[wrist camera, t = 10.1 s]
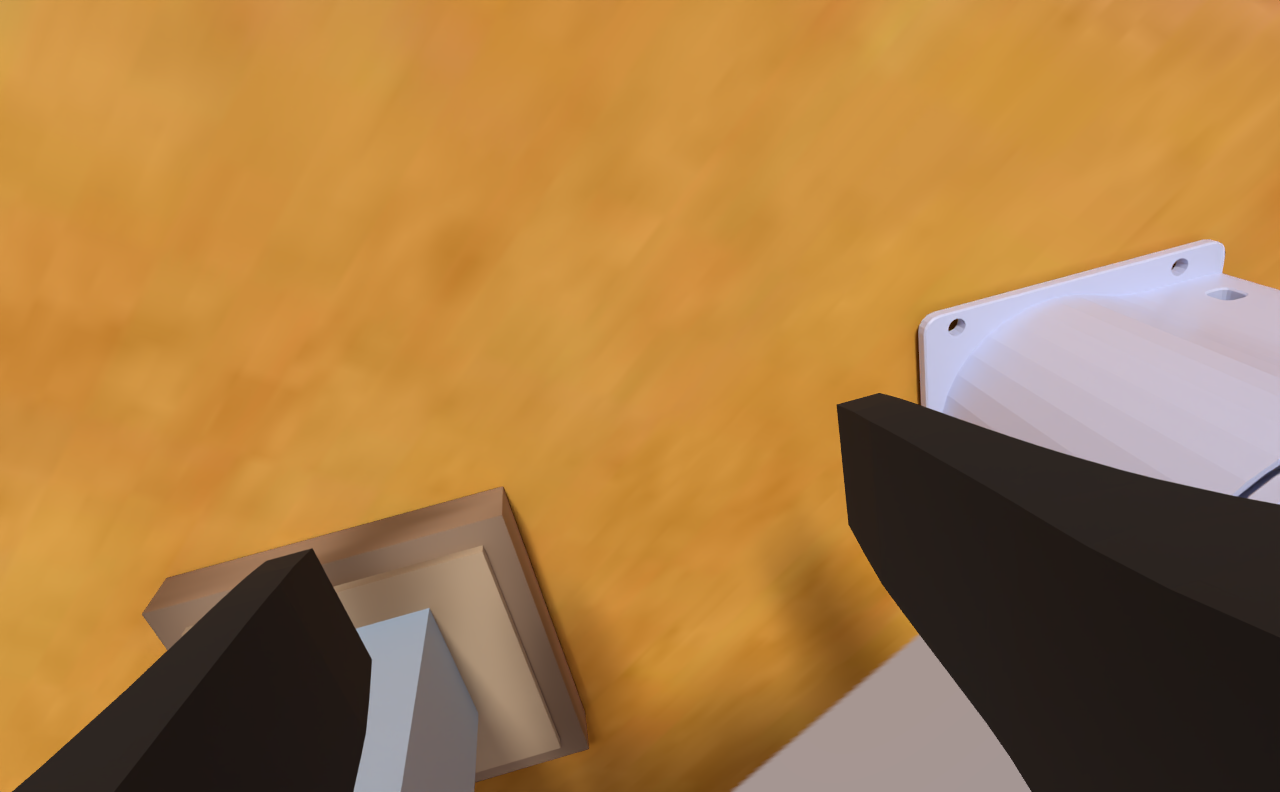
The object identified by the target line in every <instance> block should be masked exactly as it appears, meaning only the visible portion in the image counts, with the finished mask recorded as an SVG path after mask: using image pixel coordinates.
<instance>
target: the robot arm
mask: <svg viewBox="0 0 1280 792" xmlns="http://www.w3.org/2000/svg"><path fill="white" fill-rule="evenodd" d="M1224 258H1225V248H1224V246H1223V244H1222V243H1220V242H1218V241H1214V240H1210V239H1205V240H1200V241H1196V242H1192V243H1189V244H1185V245H1181V246H1178V247H1174V248H1170V249H1166V250H1163V251H1159V252H1155V253H1151V254H1148V255H1144V256H1140V257H1137V258H1133V259H1129V260H1125V261H1122V262H1118V263H1114V264H1110V265H1107V266H1103V267H1099V268H1096V269H1092V270H1088V271H1084V272H1081V273H1077V274H1073V275H1069V276H1066V277H1062V278H1058V279H1055V280H1051V281H1047V282H1043V283H1040V284H1036V285H1032V286H1028V287H1025V288H1021V289H1017V290H1014V291H1010V292H1006V293H1002V294H999V295H995V296H991V297H987V298H984V299H980V300H976V301H973V302H969V303H965V304H961V305H958V306H954V307H950V308H946V309H943V310H939V311H935V312H933V313H930V314H928V315H927V316H926V317H925V318H924V319H923V320H922V322H921V323H920V325H919V330H918V338H919V363H920V389H921V405H918V404H915V403H912V402H909V401H906V400H903V399H900V398H896V397H893V396H889V395H885V394H881V393H878V394H874V395H870V396H867V397H863V398H859V399H856V400H852V401H848V402H845V403H841V404H837V413H838V423H839V433H840V443H841V453H842V463H843V473H844V483H845V493H846V503H847V513H848V523H849V526H850V528H851V530H852V532H853V533H854V535H855V537H856V539H857V541H858V543H859V544H860V546H861V548H862V550H863V552H864V554H865V555H866V557H867V559H868V561H869V562H870V564H871V566H872V567H873V569H874V571H875V573H876V574H877V576H878V578H879V580H880V581H881V583H882V585H883V586H884V587H885V589H886V590H887V591H888V593H889V594H890V596H891V597H892V598H893V600H894V601H895V602H896V604H897V605H898V606H899V608H900V609H901V610H902V612H903V613H904V614H905V616H906V617H907V618H908V620H909V621H910V622H911V624H912V625H913V626H914V628H915V629H916V630H917V632H918V633H919V634H920V636H921V637H922V638H923V640H924V641H925V642H926V644H927V645H928V646H929V648H930V649H931V650H932V652H933V653H934V654H935V656H936V657H937V658H938V659H939V661H940V662H941V663H942V665H943V666H944V667H945V669H946V670H947V671H948V673H949V674H950V675H951V677H952V678H953V679H954V680H955V682H956V683H957V685H958V686H959V687H960V688H961V690H962V691H963V692H964V694H965V695H966V696H967V698H968V699H969V700H970V702H971V703H972V704H973V706H974V707H975V708H976V710H977V711H978V712H979V714H980V715H981V716H982V718H983V719H984V720H985V721H986V723H987V724H988V726H989V727H990V729H991V730H992V732H993V733H994V734H995V736H996V737H997V739H998V740H999V742H1000V743H1001V745H1002V746H1003V747H1004V749H1005V750H1006V752H1007V753H1008V755H1009V756H1010V758H1011V759H1012V761H1013V762H1014V764H1015V766H1016V767H1017V769H1018V770H1019V772H1020V774H1021V775H1022V777H1023V779H1024V780H1025V782H1026V783H1027V785H1028V787H1029V788H1030V790H1031V791H1032V792H1280V290H1277V289H1274V288H1271V287H1267V286H1264V285H1260V284H1257V283H1253V282H1250V281H1246V280H1243V279H1240V278H1236V277H1233V276H1229V275H1226V274H1222V270H1223V264H1224ZM1176 261H1177V262H1176ZM1175 262H1176V265H1175V267H1174V268H1173V269H1172V266H1173V264H1174V263H1175ZM1171 269H1172V270H1171ZM955 319H958V322H957V325H956V327H955V328H954V329H952V330H951V331H949V330H948V328H949V325H950V323H951V322H952V321H953V320H955ZM371 668H372V658H371V656H370V655H369V653H368V651H367V649H366V647H365V645H364V643H363V642H362V640H361V638H360V636H359V634H358V632H357V630H356V628H355V627H354V625H353V623H352V621H351V619H350V617H349V615H348V614H347V612H346V610H345V608H344V606H343V604H342V602H341V600H340V599H339V597H338V595H337V593H336V591H335V589H334V587H333V586H332V584H331V582H330V580H329V578H328V576H327V574H326V573H325V571H324V569H323V567H322V565H321V563H320V561H319V559H318V558H317V556H316V554H315V552H314V550H313V548H311V549H307V550H304V551H300V552H296V553H293V554H289V555H285V556H282V557H278V558H274V559H271V560H267V561H265V562H264V563H263V564H261V565H260V566H259V567H258V568H256V569H255V570H254V571H253V572H251V573H250V574H249V575H248V576H247V577H245V578H244V579H243V580H242V581H241V582H240V583H239V584H238V585H236V586H235V587H234V588H233V589H232V590H231V591H230V592H229V593H228V594H227V595H226V596H224V597H223V598H222V599H221V600H220V601H219V602H218V603H217V604H216V605H215V606H214V607H213V608H212V609H211V610H210V611H208V612H207V613H206V614H205V615H204V616H203V617H202V618H201V619H200V620H199V621H198V622H197V623H196V624H195V625H194V626H193V627H192V628H191V629H190V630H189V631H188V632H186V633H185V634H184V635H183V636H182V637H181V638H180V639H179V640H178V641H177V642H176V643H175V644H174V645H173V646H172V647H171V648H170V649H169V650H168V651H167V652H166V653H164V654H163V655H162V656H161V657H160V658H159V659H158V660H157V661H156V662H155V663H154V664H153V665H152V666H151V667H150V668H149V669H148V670H147V671H146V672H145V673H144V674H142V675H141V676H140V677H139V678H138V679H137V680H136V681H135V682H134V683H133V684H132V685H131V686H130V687H129V688H128V689H127V690H126V691H124V692H123V693H122V694H121V695H120V696H119V697H118V698H117V699H116V700H114V701H113V702H112V703H111V704H110V705H109V706H108V707H107V708H106V709H105V710H103V711H102V712H101V713H100V714H99V715H98V716H97V717H96V718H95V719H93V720H92V721H91V722H90V723H89V724H88V725H87V726H86V727H85V728H83V729H82V730H81V731H80V732H79V733H78V734H77V735H76V736H75V737H74V738H72V739H71V740H70V741H69V742H68V743H67V744H66V745H65V746H64V747H62V748H61V749H60V750H59V751H58V752H57V753H56V754H55V755H54V756H52V757H51V758H50V759H49V760H48V761H47V762H46V763H45V764H44V765H43V766H41V767H40V768H39V769H38V770H37V771H36V772H35V773H33V774H32V775H31V776H30V777H29V778H28V779H26V780H25V781H24V782H23V783H22V784H21V785H19V786H18V787H17V788H16V789H15V790H14V791H12V792H354V787H355V783H356V778H357V774H358V769H359V764H360V760H361V755H362V750H363V746H364V741H365V736H366V729H367V719H368V709H369V699H370V684H371Z"/></svg>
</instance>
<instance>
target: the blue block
mask: <svg viewBox="0 0 1280 792" xmlns="http://www.w3.org/2000/svg"><path fill="white" fill-rule="evenodd" d="M356 630H357V632H358V634H359V636H360V638H361V640H362V642H363V643H364V645H365V647H366V649H367V651H368V653H369V655H370V656H371V658H372V668H371V684H370V699H369V709H368V719H367V729H366V736H365V741H364V746H363V750H362V755H361V760H360V764H359V769H358V774H357V778H356V783H355V787H354V792H474V787H475V769H476V751H477V732H478V712H477V709H476V707H475V705H474V703H473V701H472V699H471V696H470V694H469V692H468V690H467V688H466V686H465V684H464V681H463V679H462V677H461V675H460V673H459V671H458V668H457V666H456V664H455V662H454V660H453V658H452V655H451V653H450V651H449V649H448V647H447V645H446V643H445V640H444V638H443V636H442V634H441V632H440V630H439V627H438V625H437V623H436V621H435V619H434V617H433V614H432V612H431V610H430V608H427V609H424V610H420V611H417V612H413V613H410V614H406V615H402V616H399V617H395V618H392V619H388V620H385V621H381V622H377V623H374V624H370V625H367V626H363V627H360V628H356Z"/></svg>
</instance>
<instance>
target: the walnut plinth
mask: <svg viewBox="0 0 1280 792" xmlns="http://www.w3.org/2000/svg"><path fill="white" fill-rule="evenodd" d="M311 548H313V550H314V552H315V554H316V556H317V558H318V559H319V561H320V563H321V565H322V567H323V569H324V571H325V573H326V574H327V576H328V578H329V580H330V582H331V584H332V586H333V587H334V589H335V591H336V593H337V595H338V597H339V599H340V600H341V602H342V604H343V606H344V608H345V610H346V612H347V614H348V615H349V617H350V619H351V621H352V623H353V625H354V627H355V628H360V627H363V626H367V625H370V624H374V623H377V622H381V621H385V620H388V619H392V618H395V617H399V616H402V615H406V614H410V613H413V612H417V611H420V610H424V609H427V608H430V610H431V612H432V614H433V617H434V619H435V621H436V623H437V625H438V627H439V630H440V632H441V634H442V636H443V638H444V640H445V643H446V645H447V647H448V649H449V651H450V653H451V655H452V658H453V660H454V662H455V664H456V666H457V668H458V671H459V673H460V675H461V677H462V679H463V681H464V684H465V686H466V688H467V690H468V692H469V694H470V696H471V699H472V701H473V703H474V705H475V707H476V709H477V712H478V732H477V751H476V769H475V782H478V781H482V780H485V779H489V778H492V777H495V776H499V775H502V774H506V773H509V772H512V771H516V770H519V769H522V768H526V767H529V766H533V765H536V764H539V763H543V762H546V761H550V760H553V759H556V758H560V757H563V756H567V755H570V754H573V753H577V752H580V751H584V750H587V749H589V743H588V734H587V725H586V716H585V711H584V708H583V706H582V703H581V700H580V697H579V695H578V692H577V689H576V686H575V684H574V681H573V678H572V675H571V673H570V670H569V667H568V664H567V662H566V659H565V656H564V653H563V651H562V648H561V645H560V642H559V640H558V637H557V634H556V631H555V629H554V626H553V623H552V620H551V618H550V615H549V612H548V609H547V607H546V604H545V601H544V599H543V596H542V593H541V590H540V588H539V585H538V582H537V579H536V577H535V574H534V571H533V568H532V566H531V563H530V560H529V557H528V555H527V552H526V549H525V546H524V544H523V541H522V538H521V535H520V533H519V530H518V527H517V524H516V522H515V519H514V516H513V513H512V511H511V508H510V505H509V502H508V500H507V497H506V494H505V491H504V489H503V487H499V488H495V489H492V490H488V491H484V492H481V493H477V494H473V495H470V496H466V497H462V498H459V499H455V500H451V501H448V502H444V503H440V504H437V505H433V506H429V507H426V508H422V509H418V510H415V511H411V512H407V513H404V514H400V515H396V516H393V517H389V518H385V519H382V520H378V521H374V522H371V523H367V524H363V525H360V526H356V527H352V528H349V529H345V530H341V531H338V532H334V533H330V534H327V535H323V536H319V537H316V538H312V539H308V540H305V541H301V542H297V543H294V544H290V545H286V546H283V547H279V548H275V549H272V550H268V551H264V552H261V553H257V554H253V555H250V556H246V557H242V558H239V559H235V560H231V561H228V562H224V563H220V564H217V565H213V566H209V567H206V568H202V569H198V570H195V571H191V572H187V573H184V574H180V575H176V576H173V577H169V578H166V579H165V581H164V582H163V584H162V585H161V587H160V588H159V590H158V591H157V593H156V594H155V596H154V597H153V598H152V600H151V601H150V603H149V604H148V606H147V607H146V609H145V610H144V612H143V613H142V615H143V616H144V618H145V619H146V621H147V622H148V623H149V625H150V626H151V628H152V629H153V630H154V632H155V633H156V635H157V636H158V637H159V639H160V640H161V642H162V643H163V645H164V646H165V647H166V649H167V650H169V649H170V648H171V647H172V646H173V645H174V644H175V643H176V642H177V641H178V640H179V639H180V638H181V637H182V636H183V635H184V634H185V633H186V632H188V631H189V630H190V629H191V628H192V627H193V626H194V625H195V624H196V623H197V622H198V621H199V620H200V619H201V618H202V617H203V616H204V615H205V614H206V613H207V612H208V611H210V610H211V609H212V608H213V607H214V606H215V605H216V604H217V603H218V602H219V601H220V600H221V599H222V598H223V597H224V596H226V595H227V594H228V593H229V592H230V591H231V590H232V589H233V588H234V587H235V586H236V585H238V584H239V583H240V582H241V581H242V580H243V579H244V578H245V577H247V576H248V575H249V574H250V573H251V572H253V571H254V570H255V569H256V568H258V567H259V566H260V565H261V564H263V563H264V562H265V561H267V560H271V559H274V558H278V557H282V556H285V555H289V554H293V553H296V552H300V551H304V550H307V549H311Z"/></svg>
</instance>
